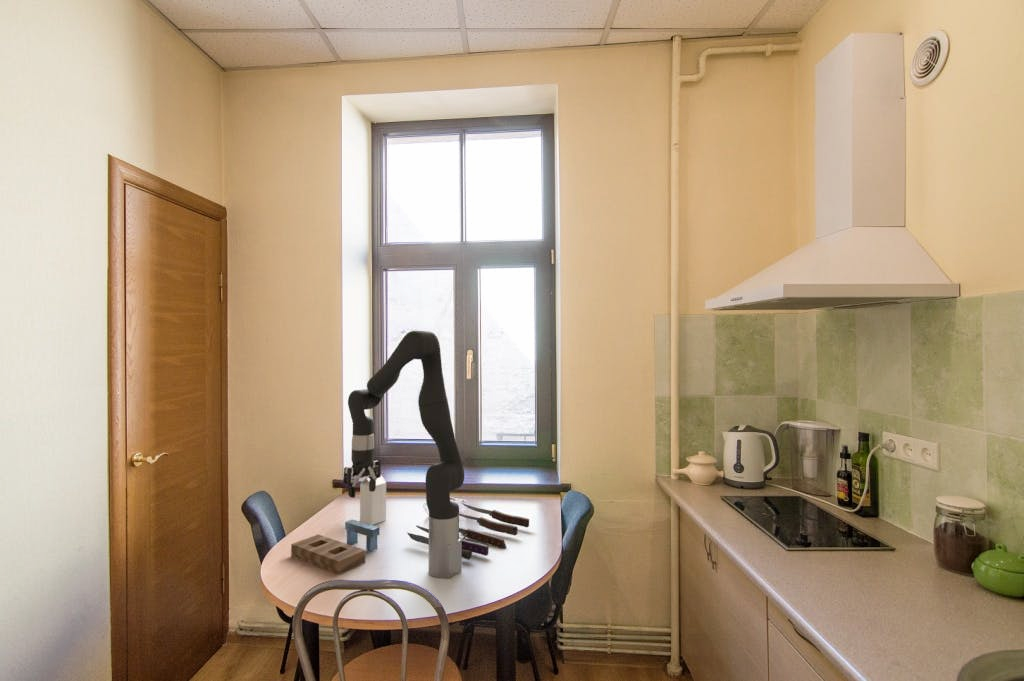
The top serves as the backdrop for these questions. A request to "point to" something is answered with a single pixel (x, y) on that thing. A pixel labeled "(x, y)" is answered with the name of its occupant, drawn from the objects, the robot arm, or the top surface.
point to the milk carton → (373, 502)
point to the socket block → (328, 554)
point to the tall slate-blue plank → (362, 528)
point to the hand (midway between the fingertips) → (362, 494)
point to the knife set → (479, 536)
